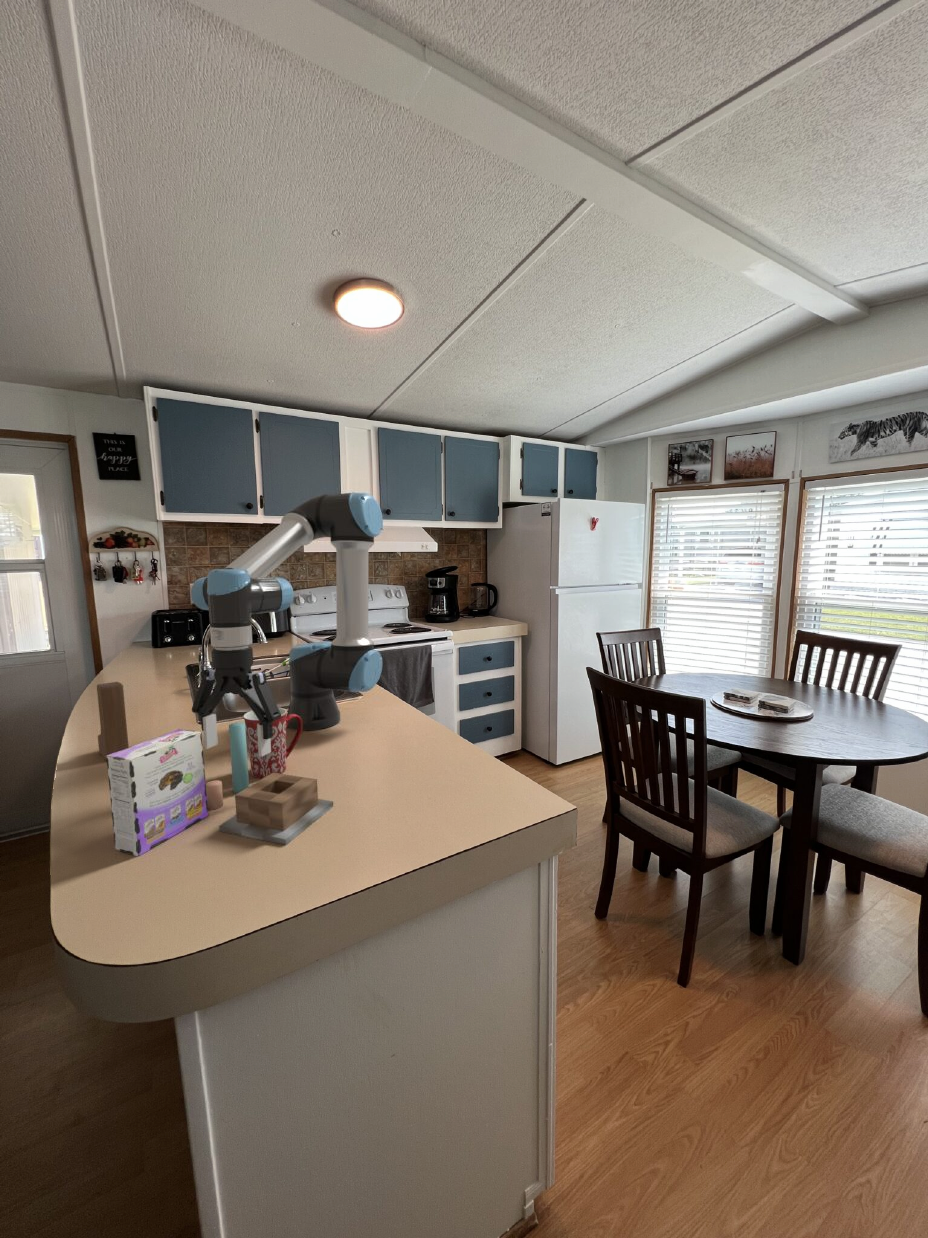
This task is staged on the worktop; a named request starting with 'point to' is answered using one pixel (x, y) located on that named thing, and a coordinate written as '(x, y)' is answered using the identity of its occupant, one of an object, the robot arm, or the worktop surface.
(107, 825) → the worktop surface
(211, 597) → the robot arm
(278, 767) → the mug
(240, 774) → the long pin
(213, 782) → the light brown oval shape
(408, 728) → the worktop surface
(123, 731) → the wooden block
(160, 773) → the candy box
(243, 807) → the square wooden frame
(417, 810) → the worktop surface
